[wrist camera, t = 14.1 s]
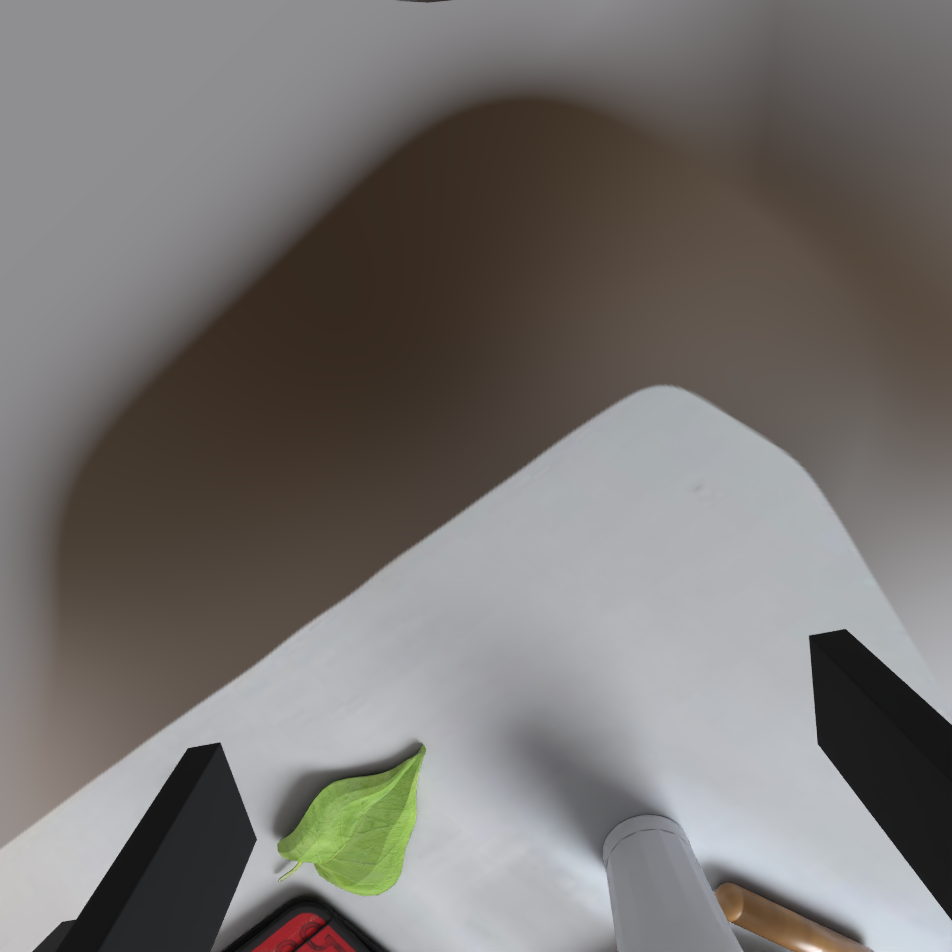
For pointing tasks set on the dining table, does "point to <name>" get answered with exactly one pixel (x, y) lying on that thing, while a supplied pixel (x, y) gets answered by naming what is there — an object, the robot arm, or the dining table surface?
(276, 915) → the notebook
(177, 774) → the robot arm
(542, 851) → the dining table surface
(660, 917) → the cup
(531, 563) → the dining table surface
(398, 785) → the leaf
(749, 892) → the dowel
